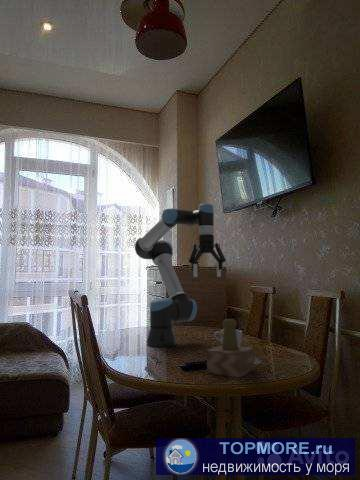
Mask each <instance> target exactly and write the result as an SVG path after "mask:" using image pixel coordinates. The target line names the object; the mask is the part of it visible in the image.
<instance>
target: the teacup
mask: <svg viewBox="0 0 360 480" xmlns="http://www.w3.org/2000/svg"><path fill="white" fill-rule="evenodd" d="M222 330H223V328H222V329H221V330H220V331H218V330H217V331H215V332H214V333H213V336H214V339H215V340H216V341H218V342H219V343H220V344H221V345H223V336H222ZM235 330H236V337H237V343H238V345H240V346H241V344H242V341H243V331H242V330H240V329H236V328H235ZM217 334H219V336H220V338H218V337H217Z"/></svg>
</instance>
